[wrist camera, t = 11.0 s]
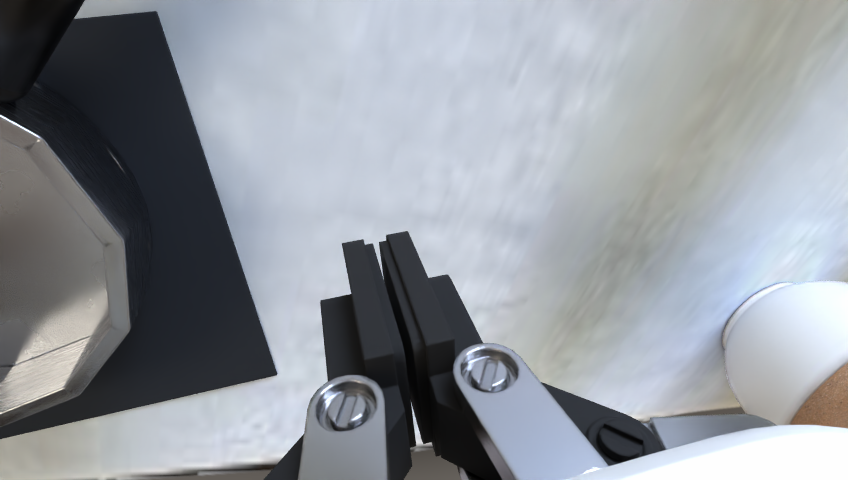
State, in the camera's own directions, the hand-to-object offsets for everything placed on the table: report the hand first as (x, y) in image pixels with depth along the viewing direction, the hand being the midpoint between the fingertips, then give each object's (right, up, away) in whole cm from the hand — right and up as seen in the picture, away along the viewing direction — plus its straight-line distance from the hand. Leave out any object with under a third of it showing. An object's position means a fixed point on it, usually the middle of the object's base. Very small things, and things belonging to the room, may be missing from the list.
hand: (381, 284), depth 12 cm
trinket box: (+23, -4, +19) cm, 30 cm away
